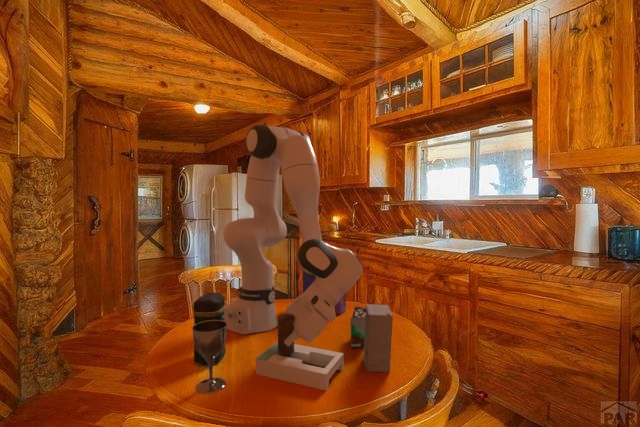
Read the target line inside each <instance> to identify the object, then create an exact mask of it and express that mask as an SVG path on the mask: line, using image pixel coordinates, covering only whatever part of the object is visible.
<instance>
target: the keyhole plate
mask: <svg viewBox="0 0 640 427" xmlns="http://www.w3.org/2000/svg"><path fill="white" fill-rule="evenodd" d="M344 356H345V355H344V353H343V352H339V351H338V352H337V351H335V350H334V351H333V350H328V349H321V348H318V347H312V346H306V345H302V344H301V345H300V344H296V343H294V353H292V354H291V358H290V357H285V356H282V355H281V354H279V353H278V341H277V342H276V343H274V344H272V345H271V346H270V347H269V348H267V349H266V350H265V351H263V352H262V353H260V354H259V355H258V356H256V358H255V374H256V375H259V376H264V377H267V378H271V379H276V380H280V381H284V382H288V383H293V384H297V385H301V386H305V387H309V388H314V389H318V390H321V391H325V392H327V391H328V390H329V388H330V387H329V386H330V378H332V376H333V375H334V374H335V373H336V371H337V370H339V371H343V370H344V368H345V367H344V366H345V360H344V359H345V357H344ZM310 364H311V365H310Z"/></svg>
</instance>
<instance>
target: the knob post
mask: <svg viewBox="0 0 640 427" xmlns="http://www.w3.org/2000/svg"><path fill="white" fill-rule="evenodd" d="M277 320H278V326H277V342H278V353H279V354H281V355H282V356H285V357H290V358H291V354H292V353H294V344H295V341H294V342H292V344H291V345H290V346H287V345H286V344H285V343H284V339H285V338H286V336H287V335H288V336H289V335H290V334H291V333H293V330H294V329H295V327H294V326H293V321H294V315H292V314H287V313H281V314H278V316H277Z"/></svg>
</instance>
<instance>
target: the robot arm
mask: <svg viewBox="0 0 640 427" xmlns="http://www.w3.org/2000/svg"><path fill="white" fill-rule="evenodd" d="M245 148H246V150H247V152H248V154H249V155H250V158H249V161H248V166H247V171H246V172H247V173H246V181H245V188H244V189H245V190H244V200H245V202H246V203H247V204H248V205H249V206H250V207H252V211H253V217H246V218H239V219H236V220H233V221H230V222H228V223H227V224H226V226H225V228H223V229H224V230H223V242H224V243H225V244H226V246H227V247H228V249H230V250H231V251H233V253H235V256H236V257H237V258H238V261H239V264H240V270H241V286H240V287H239V288H237V289H235V293H238V296H237V297H236V298H234V299H233V300H231V302H230V303H228V304H227V305H225V312H224V321H225V322H226V324H227V331H230V332H233V333H237V334H239V335H240V334H241V335H249V334H255V333H262V332H268V331H271V330H273V329H276V327H277V328H278V316H277V313H276V307H275V299H276V298H275V297H276V296H275V295H276V293H275V292H276V291H275V285H274V265H273V264H272V261H270V259H269V260H268V259H267V258H266V257H265V255H264V253H263V248H268V247H274V246H276V245H277V244H280V243H282V242H283V241H284V240H285V239H286V237H287V234H288V229H287V224H286V223H285V220H284V219H282V218H281V216H280V214H279V213H280V212H279V209H278V191H279V190H278V189H279V180H280V179H279V178H280V170H281V174H282V175H281V176H282V180H283V184H284V187H285V191H286V194H287V196H288V198H289V201H290V202H291V205H292V206H293V209H294V210H295V213H296V216H297V220H298V225H299V229H300V238H301V242H302V243H301V245H300V247H299V249H298V250H297V261H298V265H299V266H300V268H301V271H302V273H303V272H304V273H305V274H306V275H308V276H311V277H316V280H315V281H314V282H313V283H312V284H311V285H310V286H309V287H308V289H307V290H306V291H305V292H304V293H303V292H302V293H301V294H300V295H298V296H297V297H296V298H295V299H294V300H293V301H292V302H291V303H290V304H289V305H288V306H287V307H286V309H285V314H292V315H294V321H293V326H294V330H293V333H291V334H290V335H289V336H288V335H287V336H286V338H285V339H284V343H285V344H286V345H287V346H290V345H291V344H292V342H294V343H295V342H296V341H297V340H299V339H302V340H303V341H304V342H306V344H310V343H311V342H313V341H315V339H317V337H318V336H319V335H320V334H321V333H322V332H323V331H324V330H325V328H326V327H328V323H329V322H330V323H332V322H333V321H334V320H335V319H336V318H337V317H336V316H337V314H335V306H336V304H337V303H338V302H339V300H340V298H341V297H342V295H344V294H345V293H348V292H349V291H350V290H351V289H352V287H353V286H354V285H355V284H356V282H357V281H358V280H359V279H360V277H361V275H362V273H363V264H362V262H361V260H360V259H359V257H358V256H357V255H356V254H355V252H353V251H352V250H351V249H349V248H341V247H338V246H335V245H334V246H333V245H332V244H329V243H327V242H325V241H324V240H323V237H322V232H321V226H320V221H319V220H320V219H319V199H320V191H321V190H320V189H321V179H320V178H321V176H320V168H319V164H318V160H317V156H316V153H315V150H314V147H313V145H312V142H311V139H310V137H309V136H308V135H307V134H306V133H304V132H303V131H301V130H294V129H292V128H288V127H284V126H276V125H275V126H274V125H272V126H271V125H266V124H255V125H252V126H251V128H250V129H249V130H248V132H247V134H246V138H245ZM280 168H281V169H280ZM319 286H320V287H321V288H322V289H323V290H322V289H321V288H320V287H319ZM335 301H336V302H337V303H336V302H335Z"/></svg>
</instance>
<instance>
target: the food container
mask: <svg viewBox="0 0 640 427" xmlns="http://www.w3.org/2000/svg"><path fill="white" fill-rule="evenodd" d="M365 318H366V307H364V306H359V305H358V306H357V305H354V310H353V312H352V317H350V323H349V324H350V349H351V350H360V349H364V337H365Z"/></svg>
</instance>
